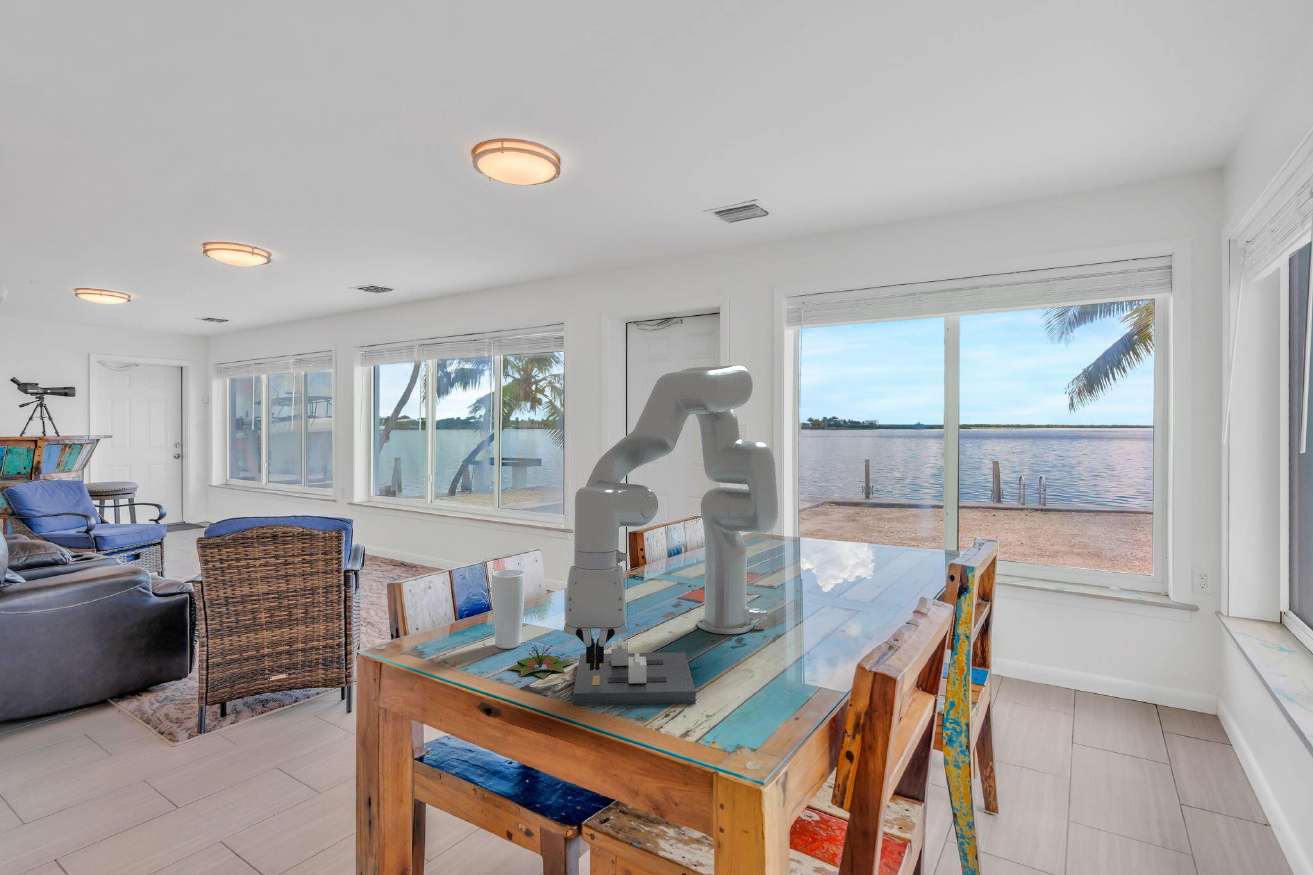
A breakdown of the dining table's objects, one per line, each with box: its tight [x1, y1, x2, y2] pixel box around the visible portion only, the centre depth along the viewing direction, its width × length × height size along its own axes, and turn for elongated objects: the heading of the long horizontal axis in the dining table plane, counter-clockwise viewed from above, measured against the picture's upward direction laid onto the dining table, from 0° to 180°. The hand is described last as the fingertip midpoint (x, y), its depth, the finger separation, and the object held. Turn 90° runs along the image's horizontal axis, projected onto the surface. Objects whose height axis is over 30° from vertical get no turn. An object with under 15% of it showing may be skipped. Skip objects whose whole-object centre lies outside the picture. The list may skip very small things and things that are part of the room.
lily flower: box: [506, 643, 575, 680], centre depth 120 cm, size 12×12×5 cm
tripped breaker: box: [628, 652, 647, 683], centre depth 109 cm, size 3×4×4 cm
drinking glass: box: [491, 569, 526, 650], centre depth 131 cm, size 7×7×15 cm
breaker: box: [610, 637, 629, 666], centre depth 117 cm, size 3×4×4 cm
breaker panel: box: [572, 651, 697, 707], centre depth 113 cm, size 20×18×2 cm
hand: (594, 667), depth 108 cm, fingers closed
